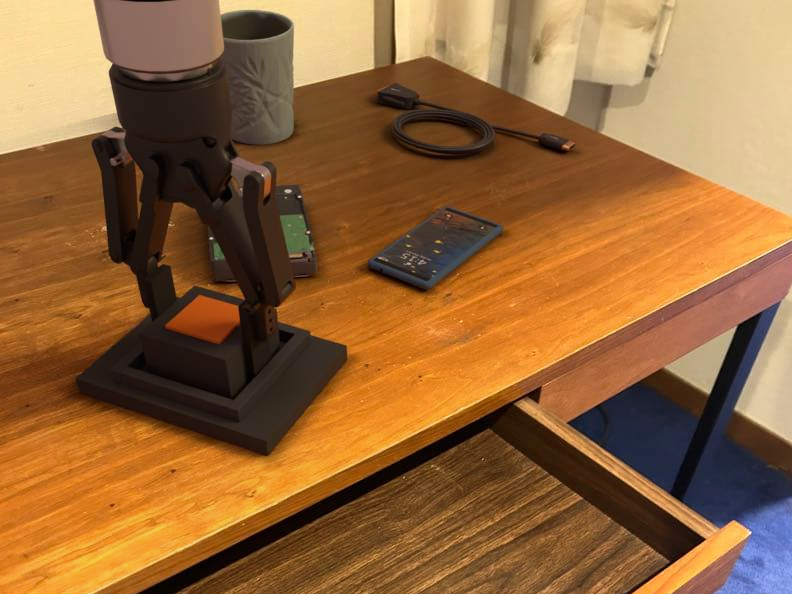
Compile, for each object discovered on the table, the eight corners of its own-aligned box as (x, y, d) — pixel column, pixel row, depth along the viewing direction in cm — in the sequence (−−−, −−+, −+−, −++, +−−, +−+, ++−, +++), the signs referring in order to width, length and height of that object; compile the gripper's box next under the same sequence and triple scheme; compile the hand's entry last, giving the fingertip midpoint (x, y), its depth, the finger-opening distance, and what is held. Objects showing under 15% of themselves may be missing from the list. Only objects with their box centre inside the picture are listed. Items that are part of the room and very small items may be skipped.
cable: (520, 189, 99) (521, 176, 98) (329, 124, 109) (328, 112, 108) (574, 149, 106) (577, 137, 105) (391, 92, 117) (391, 81, 116)
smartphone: (505, 225, 91) (428, 285, 82) (504, 232, 92) (428, 293, 83) (445, 204, 94) (364, 260, 85) (444, 211, 94) (364, 267, 86)
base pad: (79, 392, 71) (70, 366, 69) (174, 308, 80) (169, 283, 78) (268, 455, 67) (265, 429, 65) (347, 359, 76) (346, 333, 74)
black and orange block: (148, 374, 71) (138, 330, 68) (201, 325, 76) (194, 281, 73) (231, 401, 69) (225, 356, 66) (280, 348, 74) (276, 305, 71)
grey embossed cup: (301, 115, 111) (295, 10, 102) (297, 149, 104) (291, 40, 95) (222, 113, 110) (209, 8, 101) (213, 147, 103) (199, 38, 94)
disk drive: (205, 214, 93) (213, 285, 83) (202, 188, 91) (209, 258, 81) (301, 207, 94) (319, 276, 84) (299, 182, 92) (318, 250, 82)
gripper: (337, 69, 55) (345, 363, 72) (72, 17, 60) (137, 302, 77) (280, 110, 50) (302, 415, 67) (-3, 50, 55) (84, 346, 72)
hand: (214, 354), depth 72 cm, fingers closed on black and orange block, 8 cm apart
